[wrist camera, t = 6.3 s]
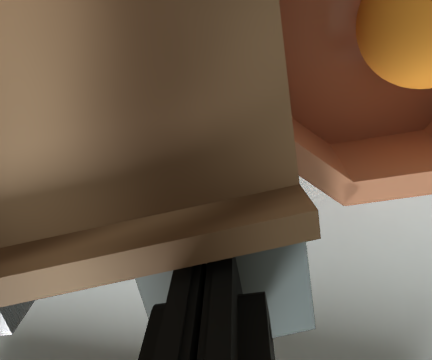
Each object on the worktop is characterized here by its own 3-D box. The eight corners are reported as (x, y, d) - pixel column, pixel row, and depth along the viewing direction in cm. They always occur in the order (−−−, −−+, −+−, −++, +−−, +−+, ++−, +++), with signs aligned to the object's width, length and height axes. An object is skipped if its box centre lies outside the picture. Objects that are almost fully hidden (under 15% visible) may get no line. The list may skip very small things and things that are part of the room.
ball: (391, -48, 13) (540, -81, 11) (391, 71, 15) (521, 70, 12) (325, -37, 11) (493, -77, 8) (334, 102, 13) (477, 109, 10)
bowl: (531, -190, 12) (683, -287, 8) (497, 128, 16) (586, 173, 12) (204, -111, 13) (188, -159, 9) (249, 165, 17) (252, 218, 13)
